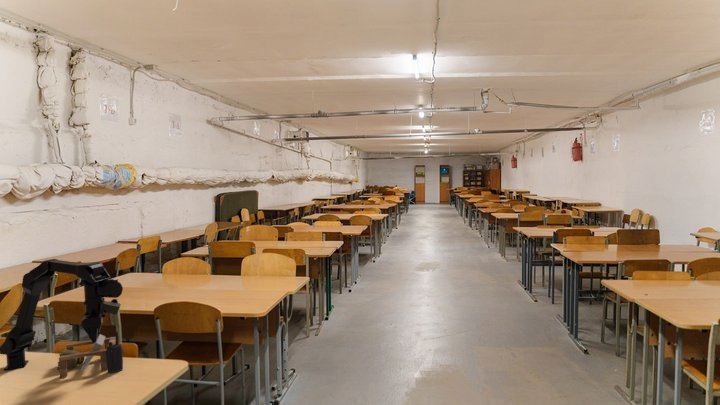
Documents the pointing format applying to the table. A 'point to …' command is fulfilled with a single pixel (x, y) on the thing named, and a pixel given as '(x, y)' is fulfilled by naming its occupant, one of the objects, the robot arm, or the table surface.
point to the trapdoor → (95, 347)
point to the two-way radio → (114, 356)
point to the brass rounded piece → (71, 362)
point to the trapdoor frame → (84, 355)
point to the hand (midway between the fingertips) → (96, 338)
